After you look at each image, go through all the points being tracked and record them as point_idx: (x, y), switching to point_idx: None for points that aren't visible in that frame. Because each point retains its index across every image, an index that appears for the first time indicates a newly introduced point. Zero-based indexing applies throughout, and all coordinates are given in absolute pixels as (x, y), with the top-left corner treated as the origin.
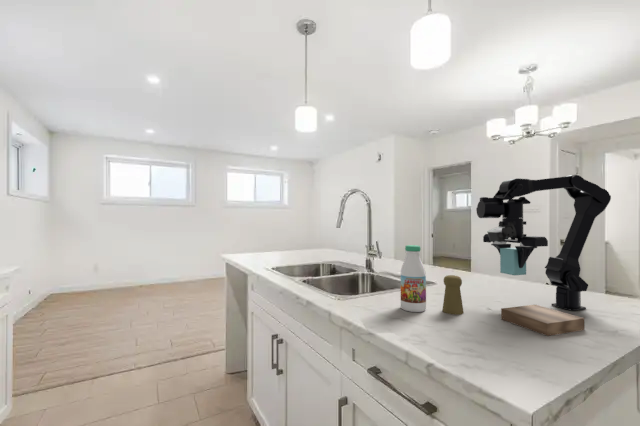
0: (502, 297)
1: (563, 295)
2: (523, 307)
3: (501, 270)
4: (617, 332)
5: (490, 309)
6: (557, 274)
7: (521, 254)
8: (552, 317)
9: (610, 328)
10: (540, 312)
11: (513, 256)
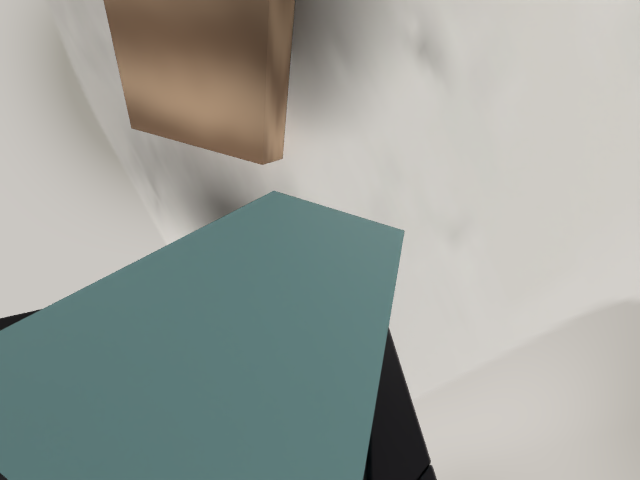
0: (468, 305)
1: None
2: (250, 62)
3: (389, 235)
4: (147, 178)
5: (417, 48)
6: None
7: (22, 316)
8: (139, 24)
9: (166, 198)
10: (186, 52)
11: (114, 279)
